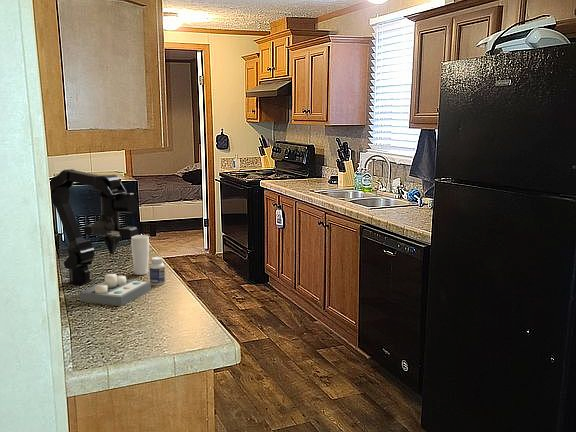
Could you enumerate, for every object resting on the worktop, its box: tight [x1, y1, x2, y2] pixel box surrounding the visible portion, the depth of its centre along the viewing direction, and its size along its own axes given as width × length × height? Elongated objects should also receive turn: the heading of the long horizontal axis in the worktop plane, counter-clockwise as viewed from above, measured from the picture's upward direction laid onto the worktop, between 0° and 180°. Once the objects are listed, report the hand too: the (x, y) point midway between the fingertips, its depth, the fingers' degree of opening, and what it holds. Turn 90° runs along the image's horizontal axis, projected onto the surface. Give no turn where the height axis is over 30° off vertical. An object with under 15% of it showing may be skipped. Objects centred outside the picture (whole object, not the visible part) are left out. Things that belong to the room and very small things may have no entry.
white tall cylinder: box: [130, 234, 150, 276], centre depth 212 cm, size 7×7×15 cm
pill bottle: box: [149, 256, 166, 286], centre depth 200 cm, size 5×5×10 cm
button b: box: [104, 273, 118, 288], centre depth 186 cm, size 4×4×4 cm
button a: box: [94, 284, 108, 294], centre depth 181 cm, size 4×4×4 cm
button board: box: [79, 279, 152, 307], centre depth 186 cm, size 16×18×3 cm
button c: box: [117, 275, 127, 285], centre depth 191 cm, size 4×4×4 cm
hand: (112, 254), depth 192 cm, fingers closed
